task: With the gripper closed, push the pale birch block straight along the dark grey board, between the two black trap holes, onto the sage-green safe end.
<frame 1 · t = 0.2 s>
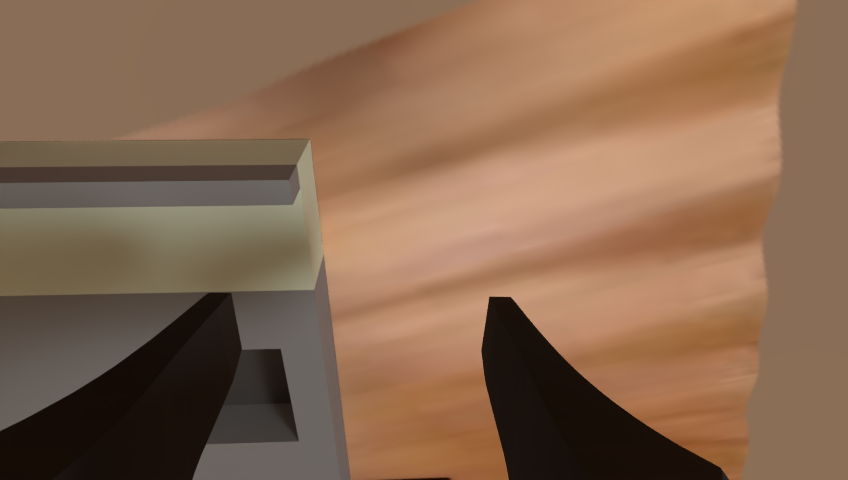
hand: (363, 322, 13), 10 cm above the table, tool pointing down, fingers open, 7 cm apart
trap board: (103, 374, 27), on the table
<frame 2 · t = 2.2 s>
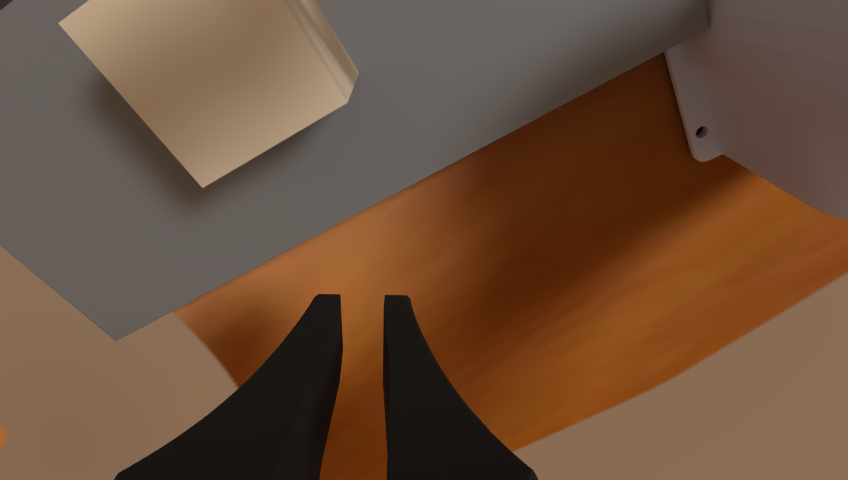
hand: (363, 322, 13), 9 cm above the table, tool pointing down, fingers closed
birch block: (252, 42, 15), point 3 cm above the table, touching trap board
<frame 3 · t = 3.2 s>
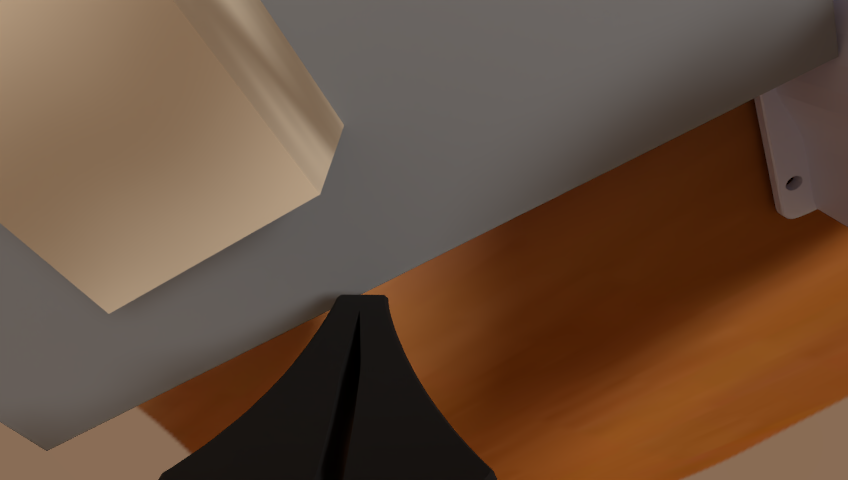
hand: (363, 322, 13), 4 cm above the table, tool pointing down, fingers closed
birch block: (192, 86, 11), point 3 cm above the table, touching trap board
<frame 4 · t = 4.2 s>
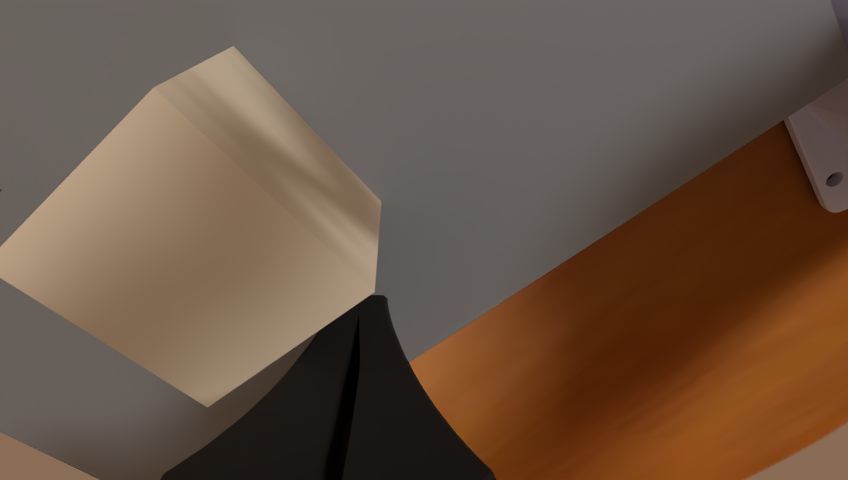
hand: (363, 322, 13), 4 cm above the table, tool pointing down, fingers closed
birch block: (245, 190, 12), point 3 cm above the table, touching gripper, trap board
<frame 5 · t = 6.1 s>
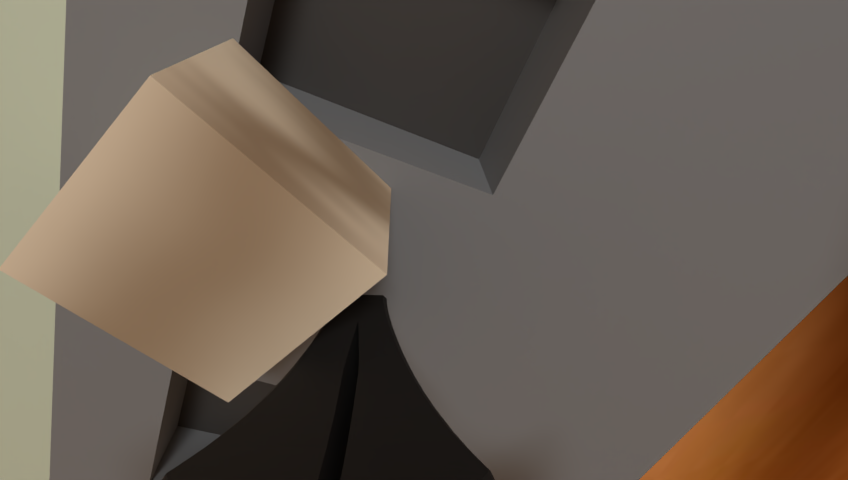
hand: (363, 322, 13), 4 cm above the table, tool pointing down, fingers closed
birch block: (254, 185, 12), point 3 cm above the table, touching gripper
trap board: (359, 243, 17), on the table
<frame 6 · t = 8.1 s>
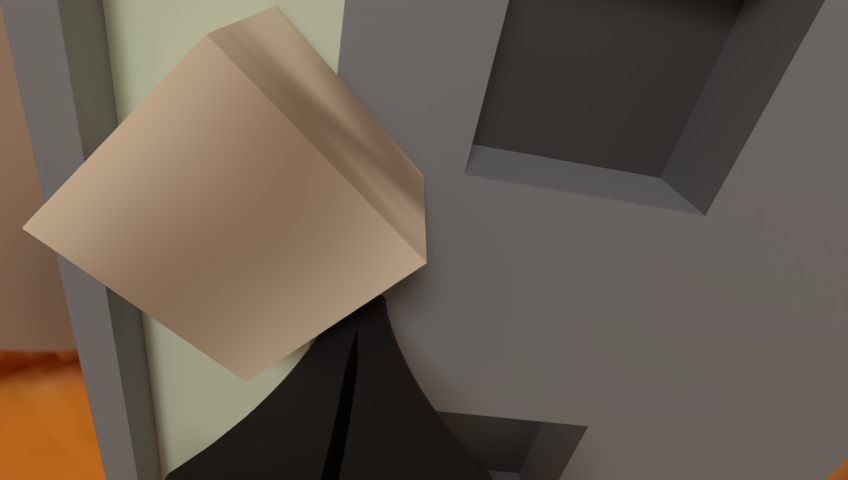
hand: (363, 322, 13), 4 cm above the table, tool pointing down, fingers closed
birch block: (283, 160, 12), point 3 cm above the table, touching gripper, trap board
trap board: (542, 273, 18), on the table
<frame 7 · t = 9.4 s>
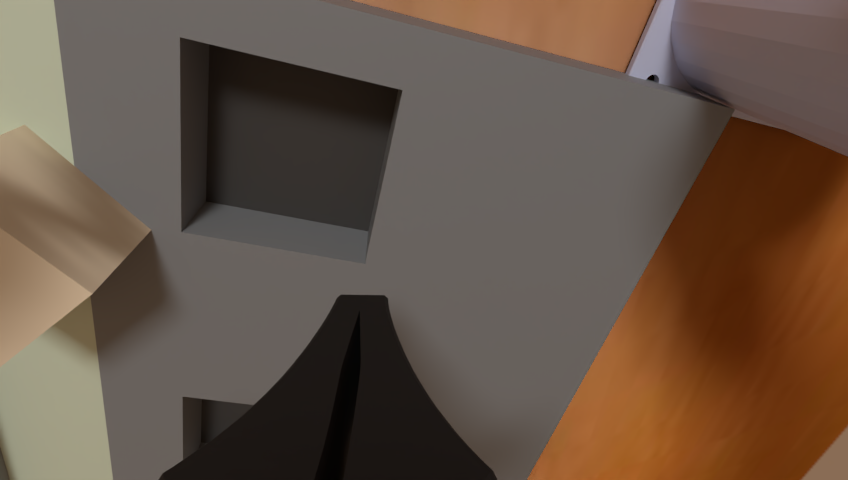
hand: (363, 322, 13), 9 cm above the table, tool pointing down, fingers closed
birch block: (49, 219, 17), point 3 cm above the table, touching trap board
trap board: (301, 297, 23), on the table
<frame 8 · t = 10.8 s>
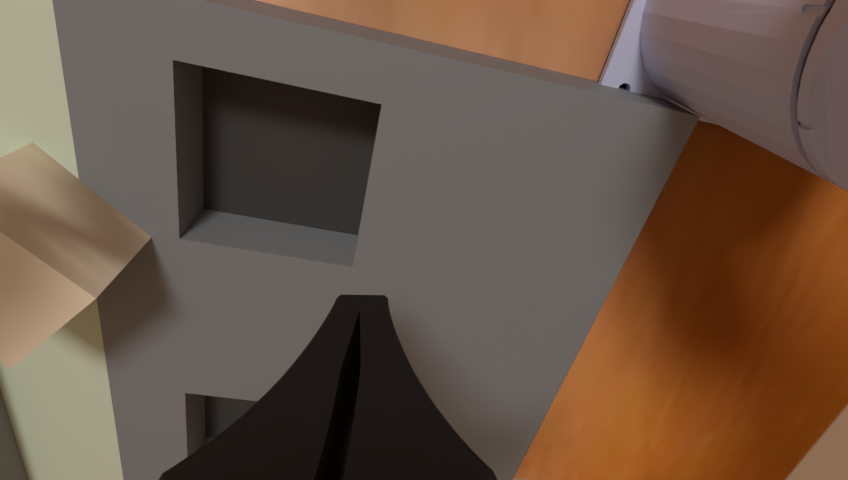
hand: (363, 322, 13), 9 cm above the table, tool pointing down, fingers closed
birch block: (56, 228, 19), point 3 cm above the table, touching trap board
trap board: (296, 298, 24), on the table
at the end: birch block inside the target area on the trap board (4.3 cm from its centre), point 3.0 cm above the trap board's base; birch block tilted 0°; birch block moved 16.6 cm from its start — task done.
